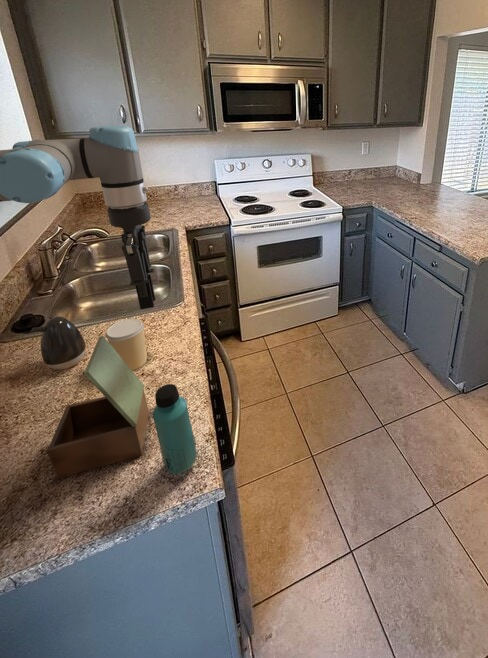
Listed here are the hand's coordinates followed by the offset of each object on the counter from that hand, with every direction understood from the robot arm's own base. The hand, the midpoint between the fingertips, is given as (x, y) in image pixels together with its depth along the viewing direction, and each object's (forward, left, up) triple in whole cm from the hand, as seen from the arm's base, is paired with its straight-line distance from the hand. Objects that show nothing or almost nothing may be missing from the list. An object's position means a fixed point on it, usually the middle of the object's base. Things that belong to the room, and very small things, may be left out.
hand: (148, 304), depth 81 cm
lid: (-7, -8, -13) cm, 17 cm away
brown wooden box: (-12, -8, -28) cm, 32 cm away
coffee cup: (-11, +19, -29) cm, 36 cm away
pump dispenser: (-29, +25, -29) cm, 48 cm away
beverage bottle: (+4, -19, -29) cm, 35 cm away
